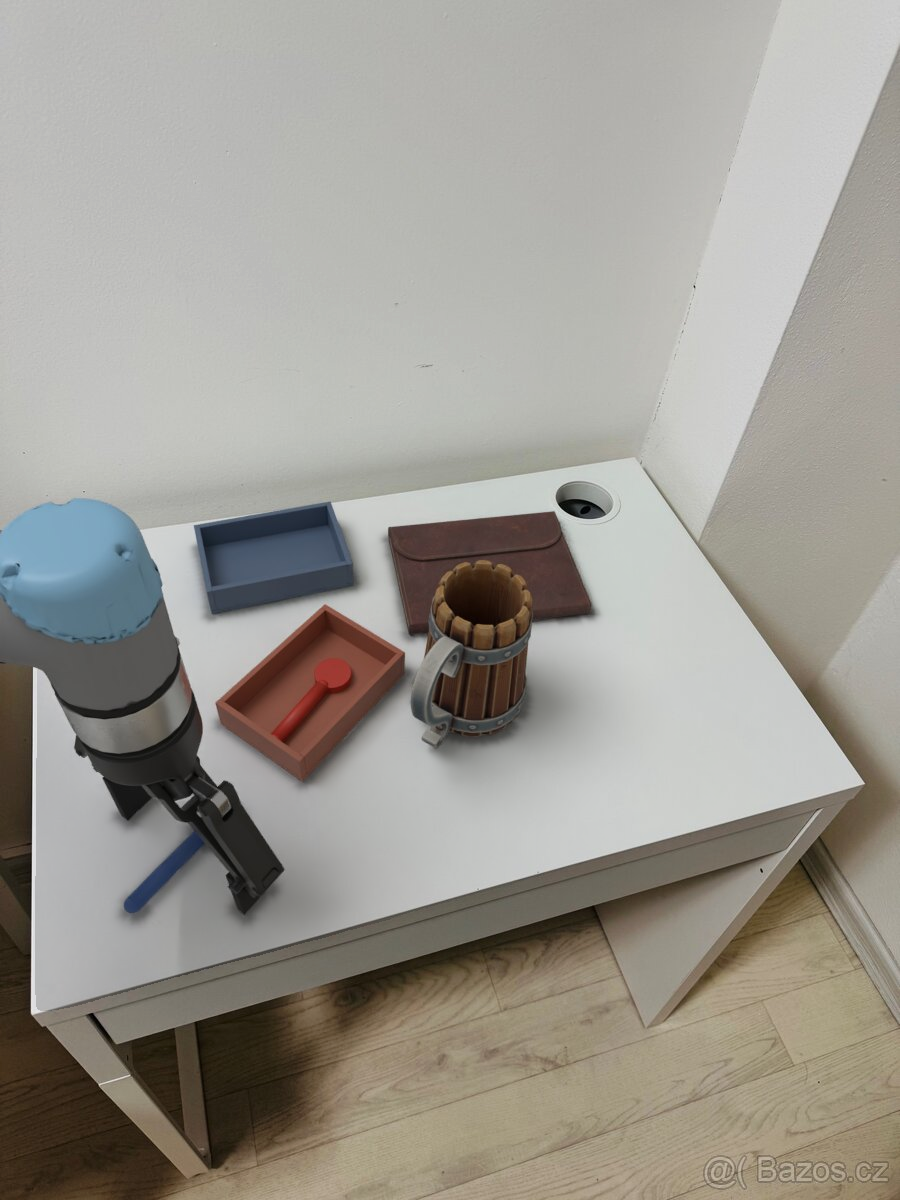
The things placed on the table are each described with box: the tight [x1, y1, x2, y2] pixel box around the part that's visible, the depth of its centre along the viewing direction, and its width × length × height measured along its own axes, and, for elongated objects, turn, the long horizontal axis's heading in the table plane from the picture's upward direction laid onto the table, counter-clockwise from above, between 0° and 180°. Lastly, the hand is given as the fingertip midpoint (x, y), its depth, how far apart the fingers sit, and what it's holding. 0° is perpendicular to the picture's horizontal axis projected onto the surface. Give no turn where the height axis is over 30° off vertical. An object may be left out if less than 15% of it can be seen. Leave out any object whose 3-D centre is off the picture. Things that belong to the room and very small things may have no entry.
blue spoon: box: [123, 830, 206, 915], centre depth 69 cm, size 11×4×1 cm, turn 145°
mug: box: [410, 560, 533, 749], centre depth 75 cm, size 16×11×15 cm
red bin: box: [214, 603, 406, 783], centre depth 80 cm, size 15×10×4 cm
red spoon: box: [271, 658, 352, 742], centre depth 79 cm, size 11×4×1 cm, turn 149°
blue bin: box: [193, 501, 354, 615], centre depth 91 cm, size 15×10×4 cm
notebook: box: [387, 510, 592, 635], centre depth 93 cm, size 15×20×2 cm
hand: (193, 851), depth 70 cm, fingers open, 13 cm apart
